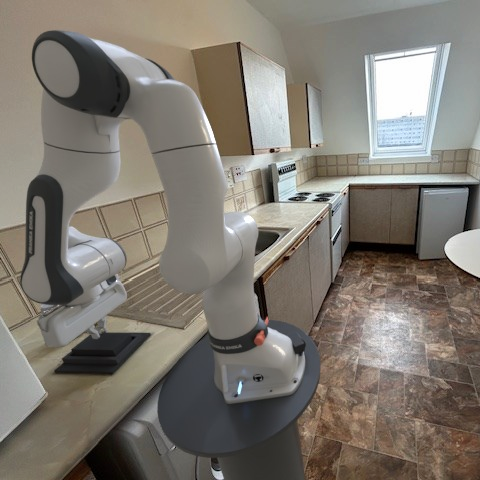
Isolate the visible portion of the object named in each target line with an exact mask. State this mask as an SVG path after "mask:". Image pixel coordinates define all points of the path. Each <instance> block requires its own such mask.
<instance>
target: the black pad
mask: <svg viewBox="0 0 480 480" xmlns="http://www.w3.org/2000/svg"><path fill="white" fill-rule="evenodd" d="M131 341H132V337H131V335H130V334H103V335H102V336H101V337H99V338H98V339H93V338H92V336H91V334H88V335H87V336H86V337H85V338H84V339H82V340H81V341H80V342H78V343H77V344H76V345H75V346H73V347H72V348H71V349H70V350H71V351H72V352H73V354H74V356H103V357H116V356H117V355H118V354H119V353H120V352H121V351H122V350H123V349H124V348H125V347H126V346H127V345H128V344H129V343H130V342H131Z"/></svg>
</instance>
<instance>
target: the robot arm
mask: <svg viewBox="0 0 480 480" xmlns="http://www.w3.org/2000/svg"><path fill="white" fill-rule="evenodd" d="M31 64H32V69H33V72H34V74H35V77H36V78H37V80H38V82H39V84H40V85H41V87H42V88H43V89H42V95H41V103H40V104H41V107H40V122H41V123H40V124H41V133H42V141H43V148H44V149H43V158H42V162H41V166H40V169H39V171H38V173H37V175H36V176H35V177H34V178H33V179H32V180H31V181H30V182H29V184H28V187H27V191H26V201H25V248H24V249H25V251H24V253H25V255H24V262H23V265H22V269H21V272H20V278H19V282H20V287H21V290H22V292H23V293H24V295H25V296H26V297H27V298H28V299H30V301H33V302H34V303H37V304H40V305H42V304H46V305H53V306H52V307H51V308H49V309H46V310H45V311H43V312H41V313H40V315H39V316H38V318H37V320H36V324H37V326H38V328H39V329H40V333H41V336H42V338H43V341H44V343H45V345H46V346H47V347H49V348H64V347H65V346H67V345H69V344H70V343H71V342H73V341H74V340H76V339H77V338H78V337H79V336H81V335H82V334H83V333H86V334H88V335H90V334H91V336H92V338H93V339H98V338H99V337H101V336H102V335H103V334H104V333H106V332H107V333H108V328H107V321H108V317H107V315H108V314H110V313H112V311H114V310H115V309H117V308H118V307H119V306H121V305H122V304H123V303H125V302H126V301H127V298H128V293H127V291H126V289H125V286H124V284H123V282H122V281H120V276H119V273H120V272H122V271H123V270H124V269H125V268H126V265H127V262H128V261H127V254H126V251H125V250H124V249H125V248H123V246H122V245H121V244H120V243H119V242H117V241H116V240H114V239H112V238H109V237H104V236H103V237H97V236H93V235H89V234H85V233H84V232H80V230H78V229H77V228H76V227H74V226H72V225H70V224H71V223H70V222H71V220H72V218H73V216H74V215H75V214H76V213H77V211H78V210H79V209H80V208H82V207H83V206H84V205H85V204H87V203H88V202H89V201H91V200H92V199H94V198H95V197H97V196H98V195H101V194H102V193H104V192H105V191H108V189H110V188H111V187H112V186H113V185H114V184H115V183H116V182H117V181H118V179H119V176H120V172H121V166H122V165H121V164H122V163H121V161H122V159H121V147H120V134H119V133H120V127H121V124H122V123H123V122H125V121H126V120H132V121H134V122H135V123H136V124H137V125H138V126H139V128H140V130H141V131H142V133H143V136H144V138H145V140H146V143H147V146H148V149H149V151H150V155H151V157H152V160H153V162H154V166H155V169H156V170H157V175H158V178H159V179H160V183H161V186H162V188H163V192H164V196H165V198H166V199H165V200H166V205H167V206H166V207H167V221H168V222H167V223H168V224H167V236H166V241H165V244H164V247H163V248H162V249H163V250H162V251H161V253H160V256H159V259H158V268H159V272H160V275H161V277H162V278H163V280H164V282H165V283H166V284H167V285H168V286H169V287H171V289H173V290H175V291H177V292H179V293H181V294H185V295H199V294H201V293H203V294H202V298H201V306H202V311H203V313H204V317H205V321H206V325H207V331H206V332H207V337H209V342H210V346H211V348H212V349H213V351H214V358H215V374H214V382H215V385H216V387H217V388H218V389H219V390H220V391H221V392H222V393H223V395H224V399H225V402H226V403H227V404H233V403H240V402H247V401H254V400H261V399H268V398H275V397H282V396H288V395H292V394H293V393H294V392H295V391H296V390H297V388H298V387H299V385H300V383H301V381H302V378H303V375H304V370H305V356H304V352H303V351H305V347H306V343H305V341H304V340H303V339H301V338H300V336H299V334H298V333H297V332H294V333H292V334H289V335H288V336H286V335H283V334H281V333H279V332H278V331H276V330H273V329H271V328H269V327H267V324H268V320H269V316H266V317H265V319H262V317H261V316H260V315H259V313H258V309H257V303H256V297H255V288H254V287H255V285H254V280H255V279H254V277H255V255H256V245H257V242H258V238H259V226H258V224H257V223H256V221H255V219H254V218H253V217H252V216H251V215H249V214H247V213H246V212H243V211H228V212H225V199H226V195H227V192H228V180H227V177H226V173H225V169H224V166H223V162H222V159H221V155H220V152H219V149H218V145H217V141H216V139H215V136H214V132H213V130H212V126H211V124H210V122H209V118H208V116H207V114H206V111H205V110H204V108H203V106H202V104H201V101H200V99H199V97H198V95H197V93H196V92H195V91H194V90H193V89H192V88H191V87H190V86H189V85H188V84H186V83H184V82H181V81H179V80H176V79H175V78H174V76H172V75H171V73H170V72H169V71H168V70H167V69H166V68H164V67H163V66H162V65H160V64H159V63H157V62H156V61H154V60H152V59H149V58H145V57H144V56H140V55H139V54H136V53H135V52H132V51H130V50H127V49H126V48H125V47H122V46H120V45H118V44H114V43H111V42H107V41H105V40H101V39H96V38H92V37H88V36H86V35H85V34H83V33H79V32H75V31H69V30H59V29H58V30H57V29H55V30H46V31H43V32H41V33H40V34H39V35H37V37H36V39H35V40H34V43H33V45H32V50H31ZM263 320H265V322H264V321H263ZM96 322H98V324H97V327H96V326H95V323H96ZM295 382H296V383H295ZM236 396H237V397H236Z"/></svg>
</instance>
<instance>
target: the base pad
mask: <svg viewBox="0 0 480 480" xmlns="http://www.w3.org/2000/svg"><path fill="white" fill-rule="evenodd" d="M104 334H130V335H131V337H132V341H131V342H130V343H129V344H128V345H127V346H126V347H125V348H124V349H123V350H122V351H121V352H120V353H119V354H118V355H117V356H116V357H103V356H74V354H73V352H72V350H71V351H69V352H68V353H67V354H65V355H64V356H63V357H62V358H61V361H62V363H61V364H60V365H59V366H58V367H56V368H55V369H54V370H53V371H54V373H55V374H93V375H94V374H98V375H114V374H115V372H116V371H118V369H119V368H121V366H122V365H123V364H124V363H125V362H126V361H127V360H128V359H129V358H130V357H131V356H132V355H133V354H134V353H135V352H136V351H137V350H138V349H139V348H140V347H141V345H143V343H144V342H146V341H147V340H148V338H149V337H151V336H152V334H151V332H108V331H107V332H106V333H104Z"/></svg>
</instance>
